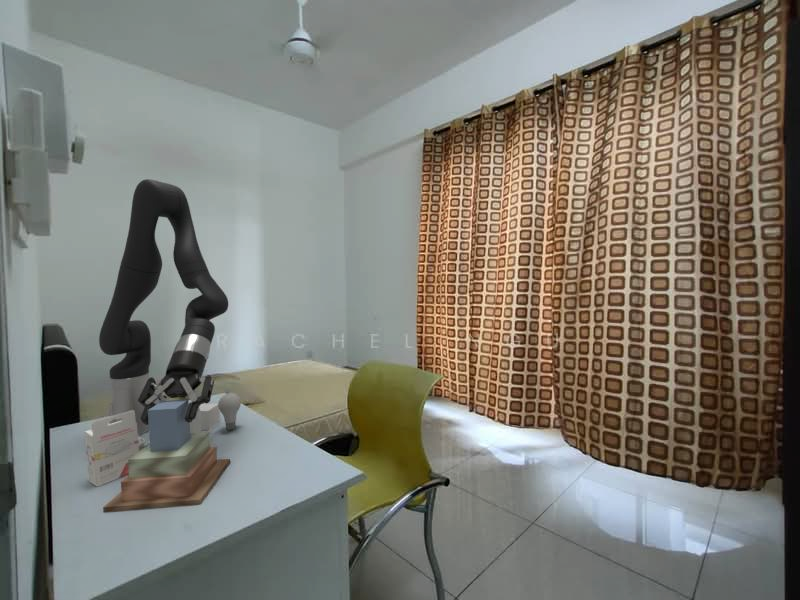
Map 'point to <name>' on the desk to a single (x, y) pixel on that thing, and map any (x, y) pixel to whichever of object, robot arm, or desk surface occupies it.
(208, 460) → the stepped tiered pedestal
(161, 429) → the slate brick
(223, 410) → the lightbulb
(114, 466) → the ink cartridge box
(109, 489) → the desk surface
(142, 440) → the game die
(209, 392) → the robot arm
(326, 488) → the desk surface
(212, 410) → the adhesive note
